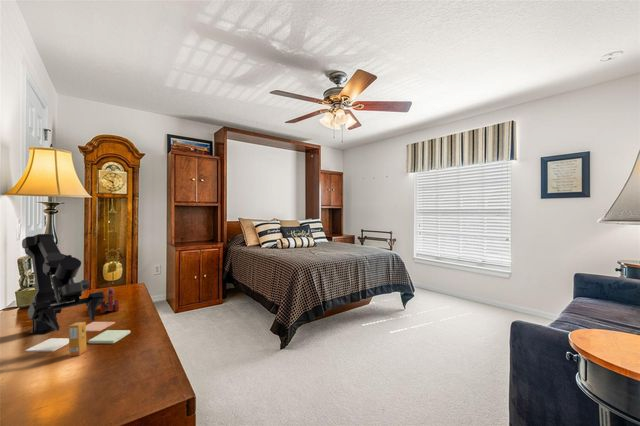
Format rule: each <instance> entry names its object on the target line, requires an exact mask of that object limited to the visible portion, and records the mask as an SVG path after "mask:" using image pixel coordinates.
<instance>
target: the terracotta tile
mask: <svg viewBox="0 0 640 426" xmlns="http://www.w3.org/2000/svg"><path fill="white" fill-rule="evenodd" d="M113 324H116V322H115V321H93V322H92V321H91V322H90V323H88V324H86V333H89V332H90V333H94V332H95V333H96V332H97V333H98V332H101V331H103V330H104V329H107V328H109V327H110V326H112V325H113Z"/></svg>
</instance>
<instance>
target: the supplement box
mask: <svg viewBox="0 0 640 426" xmlns="http://www.w3.org/2000/svg"><path fill="white" fill-rule="evenodd" d="M86 325H87V323H86V321H78V322H74V323H72V324H70V325H68V338H69V343H68V346H69V347H68V350H69V354H68V355H69V356H70V357H77V356H81V355H82V354H84V353H85V352H87V332H86Z"/></svg>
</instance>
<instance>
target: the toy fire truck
mask: <svg viewBox="0 0 640 426" xmlns="http://www.w3.org/2000/svg"><path fill="white" fill-rule="evenodd" d="M114 293H115V291H114V289H113V287H112V286H108V287H107V296H106V300H103V301H102V303H101V304H100V314H105V312H113V309H114V312H118V311H119V310H120V302H119V299H118V298H117V299H115V297H114Z"/></svg>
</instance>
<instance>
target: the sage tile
mask: <svg viewBox="0 0 640 426" xmlns="http://www.w3.org/2000/svg"><path fill="white" fill-rule="evenodd" d="M129 334H131V330H129V329H127V330H126V329H123V330H121V329H120V330H119V329H117V330H116V329H115V330H114V329H107V330H105V331H103V332H101V333H99V334H98V335H95V336H94V337H92V338H90V339H88V341H87V343H88V344H116V342H118V341H120V340H122V339H123V338H125V337H126V336H129Z"/></svg>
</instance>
